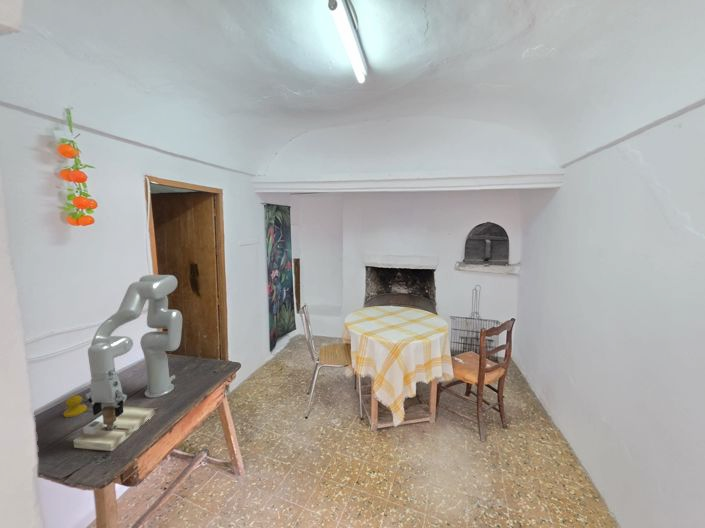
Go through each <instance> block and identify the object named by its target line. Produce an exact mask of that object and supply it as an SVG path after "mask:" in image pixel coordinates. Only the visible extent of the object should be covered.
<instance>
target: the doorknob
mask: <svg viewBox="0 0 705 528" xmlns="http://www.w3.org/2000/svg"><path fill="white" fill-rule="evenodd" d="M82 401H83V397H82V395H81V396H80V395H79V394H77V395H72V396H70V397H68V398H67V399H66V401H65V405H66V406H67V407H68V408H67V409H65V411H64V412H63V417H65V418H73V417H76V416H80V415H81V414H83V413H84V412H86V411H87V409H88V406H87V405H86V404H81V403H82Z"/></svg>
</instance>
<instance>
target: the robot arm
mask: <svg viewBox="0 0 705 528" xmlns="http://www.w3.org/2000/svg"><path fill="white" fill-rule="evenodd" d="M178 283H179V282H178V279H177V278H176V276H175V275H173V274H172V275H171V274H147V275H142V276H141V277H140V278H139V280H138V281H135V282H131V283H130V285H129V286H128V287H127V290H126V292H125V294H124V297H123V299H122V300H121V302H120V306H119V308H118V310H117V311H116V312H115V313H113V314H112V315H110V316H109V317H108V318H107V319H106V320H104V322H102V323H101V324H100V326H99V327H98V328H97V330H96V332H95V334H94V336H93V339H92V341H91V344H90V346H89V347H88V349H87V356H88V364H89V371H90V386H89V387H90V389H89V390H90V391H89V392H87V393H85V397H86V398H87V401H88V402H89V403H90V406H91V407H92V413H93V416H96V415H98V414H99V413H102V409H103V408H102V407H103V406H102V403H103V404H112V405H114V406H115V408H114V410H115V416H116V417H118V416H119V415H121V414H122V413H123V406H124V405H123V404H125V402H126V401H127V398H128V395H127V394H125V393H123V386H122V384H121V380H120V378H119V376H118V375H117V371H116V366H115V358H117V357H121V356H124V355H125V354H127V353H129V352H130V351H131V350H132V348H133V346H134V341H133V339H132V338H131V337H129V336H124V335H122V336H121V335H120V336H119V335H118V336H117V335H113V336H112V334H113V333H114V331H116V330H117V329H118V328H119V327H121V326H122V325H125V324H127V323H129V322H132V321H134V320H136V319H138V318H139V317H140V316H141V315H142V311H143V310H144V306H145V304H146V302H147V301H148V304H147V312H146V313H147V314H146V326H147V327H148V328H149V329H153V330H154V329H156V330H157V329H159V330H160V329H167V331H163V330H162V331H156V330H154V331H149V332H145V333H143V335H142V336H141V338H140V348H141V349H142V353H143V357H144V364H145V374H146V383H147V389H146V390H144V396H145V397H146V398H150V399H153V398H154V399H155V398H159V397H163V396H166V395H168V394H169V393H172V391H173V390H174V387H175V386H174V384H173V383H172V381H174V380H175V379H176V375H171V376H170V372H169V371H170V370H169V362H168V354H167V353H166V352H174V351H177V349H178V348H179V347H180V346H181V342H182V341H181V340H182V330H183V314H182V312H181V311H180V310H178V309H169V298H168V296H167V295H169V294H171V293H173V292H174V291H175V290H176V289H177V287H178Z"/></svg>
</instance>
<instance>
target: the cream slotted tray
mask: <svg viewBox="0 0 705 528" xmlns="http://www.w3.org/2000/svg"><path fill="white" fill-rule="evenodd" d="M155 412H156V411H155V408H153V407H150V408H149V407H139V406H138V407H136V406H124V405H123V413H122V414H121V415H119V416H118V417H116V421H115V422H114V429H113V430H111V431H107V425H106V426H105V427H103V428H102V429H101V430H99V431H98V432H97V433H95V434H85V433H84V432H83V433H82V434H80V435H79V436H77V437H76V438H75V439H74V440H72V441H73V447H74V449H75V448H77V449H85V450H86V449H87V450H88V449H89V450H96V451H97V450H98V451H108V452H109V451H110V452H112V451H113V450H115V449H116V448H117V447H118V446H119V445H121V444H122V443H123V442H124V441H125V440H127V439H128V438H129V437H130V436H132V435H133V434H134V433H135V432H136V431H137V430H138V429H140V428H141V427H142V426H143V425H144V424H146V423H147V422H148V421H149V420H151V419H152V418H153V417H154V416H155V415H156V413H155ZM154 414H155V415H154ZM153 415H154V416H153ZM152 416H153V417H152ZM151 417H152V418H151ZM148 419H149V420H148ZM147 420H148V421H147ZM146 421H147V422H146ZM145 422H146V423H145ZM141 425H142V426H141ZM140 426H141V427H140ZM139 427H140V428H139ZM134 431H135V432H134ZM133 432H134V433H133ZM132 433H133V434H132Z"/></svg>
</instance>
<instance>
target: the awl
mask: <svg viewBox="0 0 705 528" xmlns="http://www.w3.org/2000/svg"><path fill="white" fill-rule="evenodd" d="M114 408H115V406H114V405H113V404H109V405H106V406H103V408H102V411H101V413H102V415H103V422H104V424H105V425H107V431H111V430H113V429H114V422H115V421H116V416H115V410H114Z"/></svg>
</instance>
